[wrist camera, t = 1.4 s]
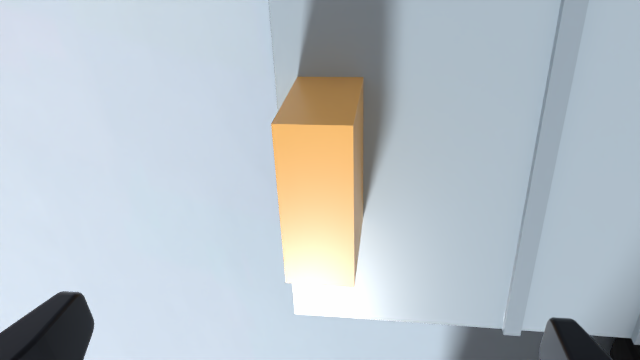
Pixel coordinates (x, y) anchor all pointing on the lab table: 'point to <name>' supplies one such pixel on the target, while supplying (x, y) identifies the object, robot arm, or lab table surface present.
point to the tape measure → (625, 349)
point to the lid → (460, 161)
